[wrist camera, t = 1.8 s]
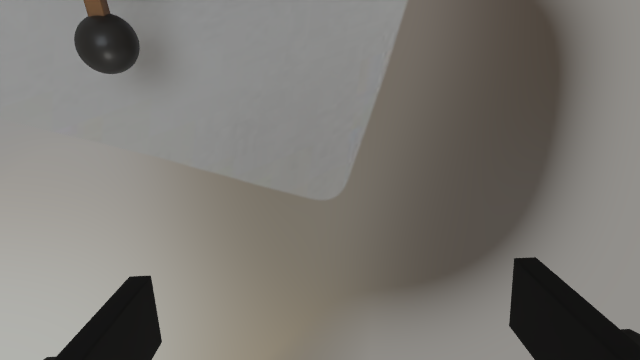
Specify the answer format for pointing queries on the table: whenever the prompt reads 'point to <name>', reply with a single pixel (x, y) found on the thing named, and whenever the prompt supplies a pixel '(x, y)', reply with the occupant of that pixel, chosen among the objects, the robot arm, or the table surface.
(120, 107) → the table surface
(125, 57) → the lever
